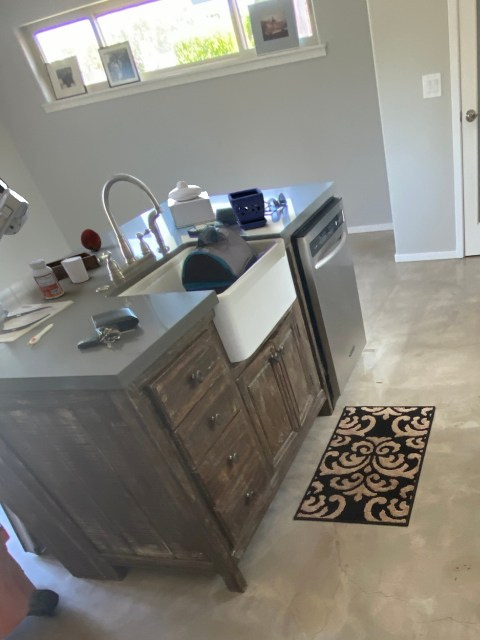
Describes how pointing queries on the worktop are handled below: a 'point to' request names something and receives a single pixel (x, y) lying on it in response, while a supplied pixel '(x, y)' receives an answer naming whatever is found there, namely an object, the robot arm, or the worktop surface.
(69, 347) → the worktop surface
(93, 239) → the apple
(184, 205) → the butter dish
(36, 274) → the pill bottle
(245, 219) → the flower pot
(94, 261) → the brown wooden tray
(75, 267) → the white cup
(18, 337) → the worktop surface
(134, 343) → the worktop surface
